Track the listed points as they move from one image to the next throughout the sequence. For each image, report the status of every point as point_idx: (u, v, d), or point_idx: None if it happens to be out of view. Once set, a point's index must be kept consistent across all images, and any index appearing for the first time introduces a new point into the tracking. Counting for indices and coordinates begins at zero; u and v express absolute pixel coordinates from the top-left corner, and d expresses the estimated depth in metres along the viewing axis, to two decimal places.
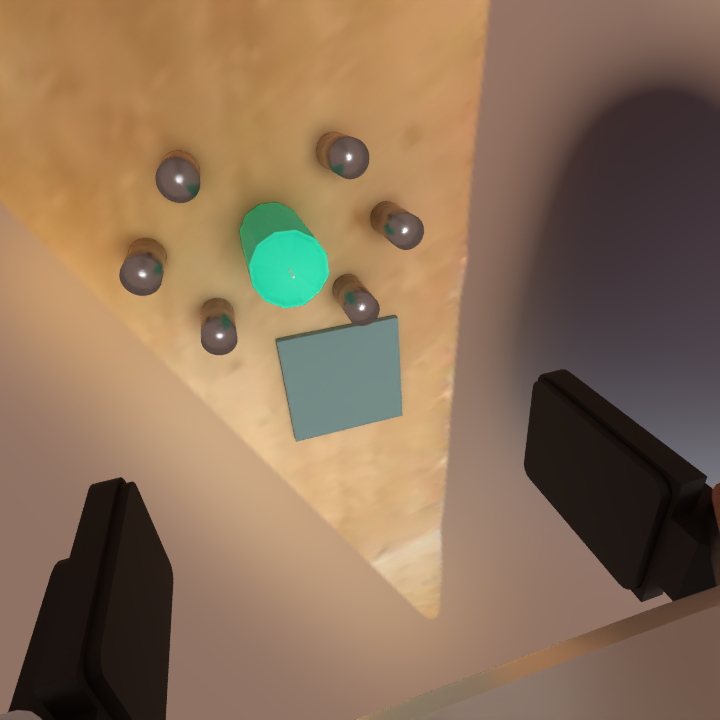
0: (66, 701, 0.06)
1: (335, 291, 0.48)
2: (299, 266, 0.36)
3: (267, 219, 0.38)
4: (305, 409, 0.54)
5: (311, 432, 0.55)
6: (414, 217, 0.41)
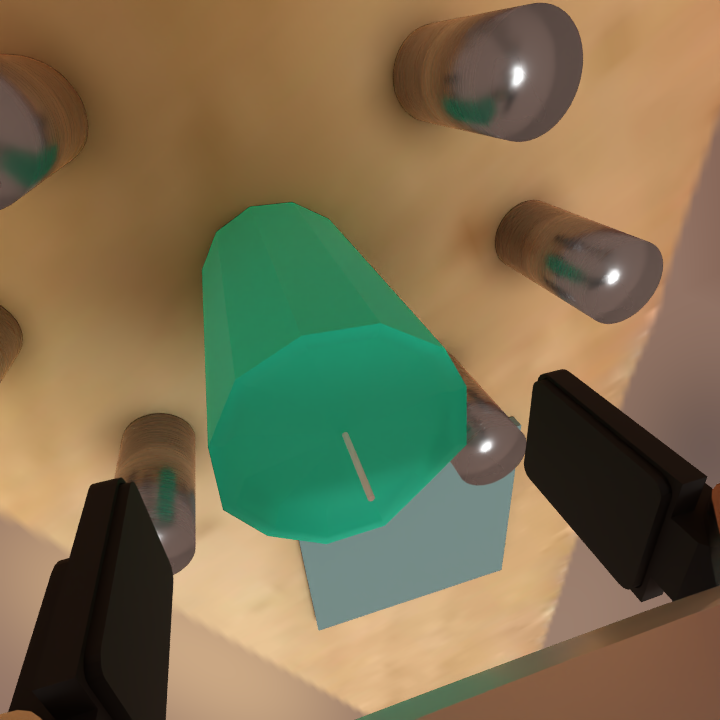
0: (66, 701, 0.06)
1: None
2: (378, 426, 0.11)
3: (272, 262, 0.12)
4: (337, 584, 0.29)
5: (345, 614, 0.31)
6: (649, 247, 0.16)
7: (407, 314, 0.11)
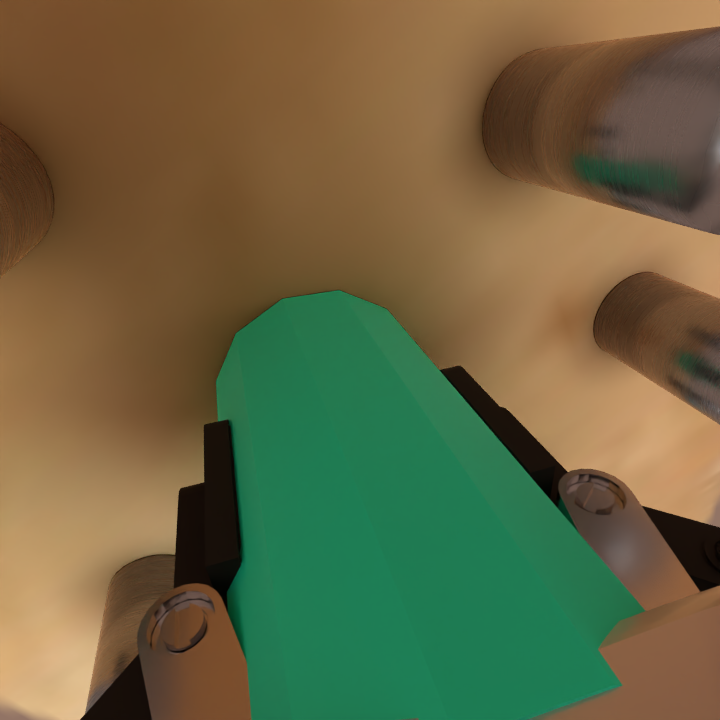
0: (227, 579, 0.08)
1: None
2: None
3: (338, 440, 0.08)
4: None
5: None
6: None
7: (599, 573, 0.06)
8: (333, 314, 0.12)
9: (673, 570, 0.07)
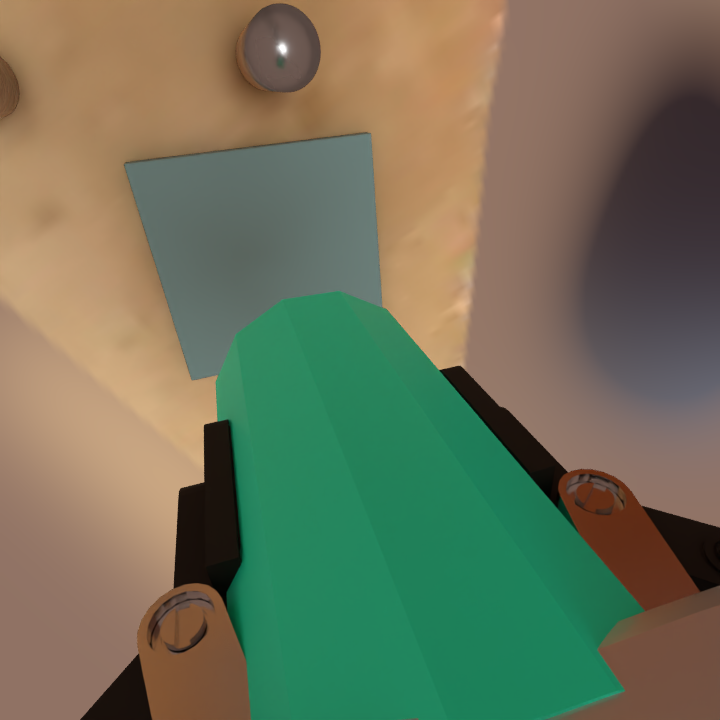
0: (228, 579, 0.08)
1: (237, 50, 0.23)
2: None
3: (338, 442, 0.08)
4: (202, 317, 0.29)
5: (218, 363, 0.31)
6: None
7: (601, 576, 0.06)
8: (333, 315, 0.12)
9: (673, 570, 0.07)
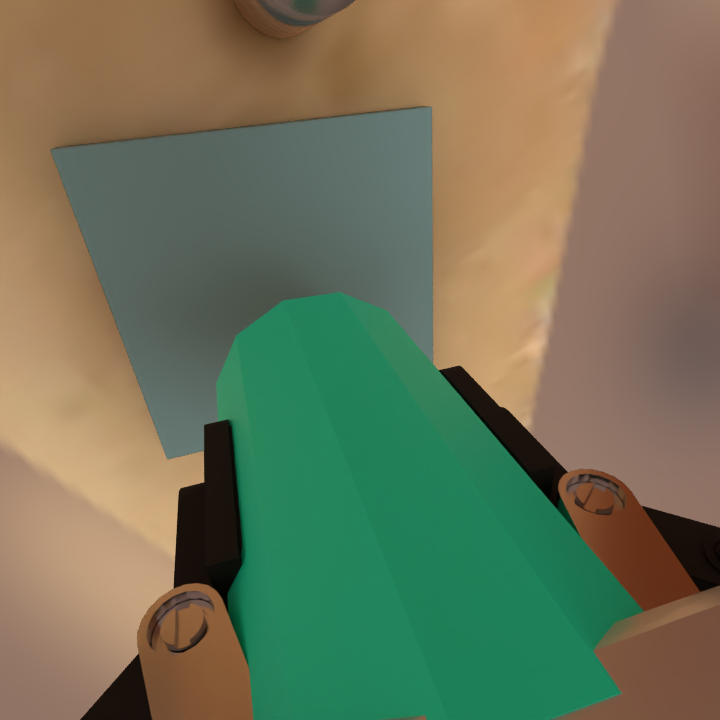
0: (227, 579, 0.08)
1: None
2: None
3: (339, 444, 0.08)
4: (181, 375, 0.20)
5: None
6: None
7: (602, 578, 0.06)
8: (334, 316, 0.12)
9: (673, 570, 0.07)
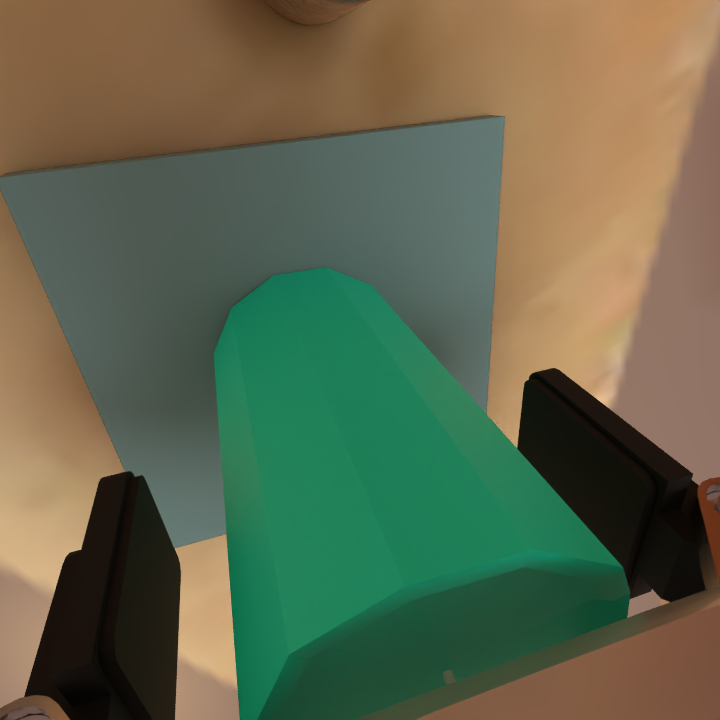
0: (82, 687, 0.06)
1: None
2: (495, 653, 0.07)
3: (320, 387, 0.09)
4: (177, 455, 0.16)
5: (207, 523, 0.18)
6: None
7: (538, 485, 0.07)
8: (320, 287, 0.13)
9: None
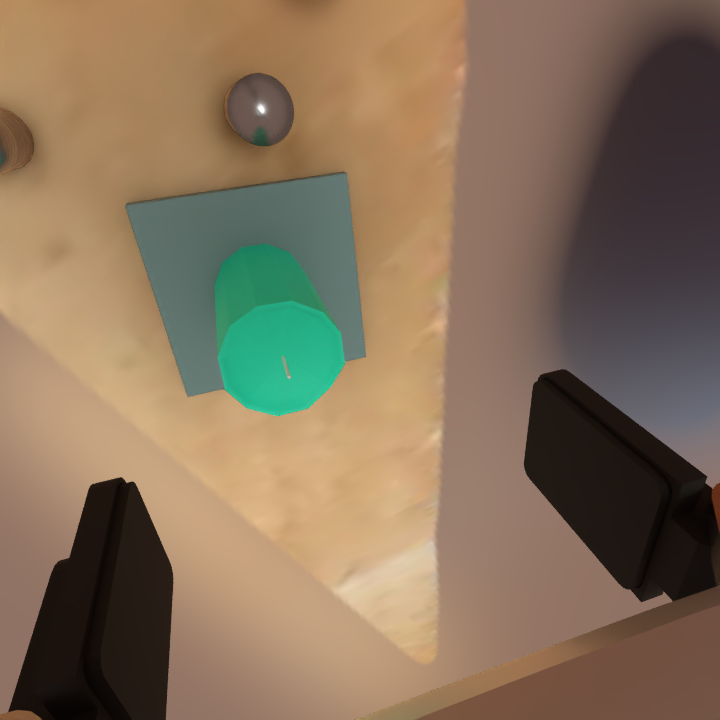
0: (66, 701, 0.06)
1: (224, 105, 0.26)
2: (299, 353, 0.23)
3: (249, 277, 0.25)
4: (197, 339, 0.32)
5: (212, 381, 0.34)
6: None
7: (311, 299, 0.23)
8: (260, 250, 0.29)
9: None
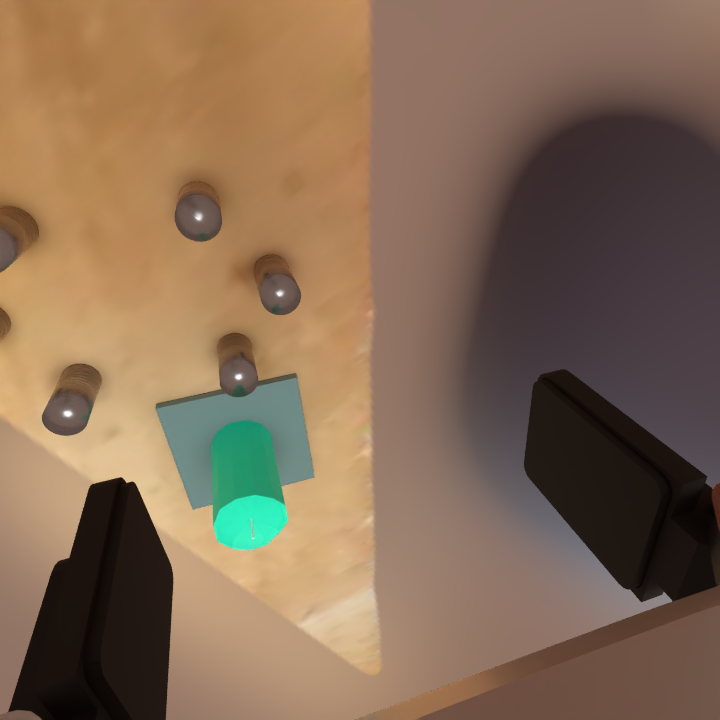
0: (66, 701, 0.06)
1: (218, 353, 0.43)
2: (261, 516, 0.40)
3: (232, 464, 0.41)
4: (199, 476, 0.48)
5: (209, 499, 0.50)
6: (287, 280, 0.36)
7: (268, 485, 0.40)
8: (240, 430, 0.45)
9: None
